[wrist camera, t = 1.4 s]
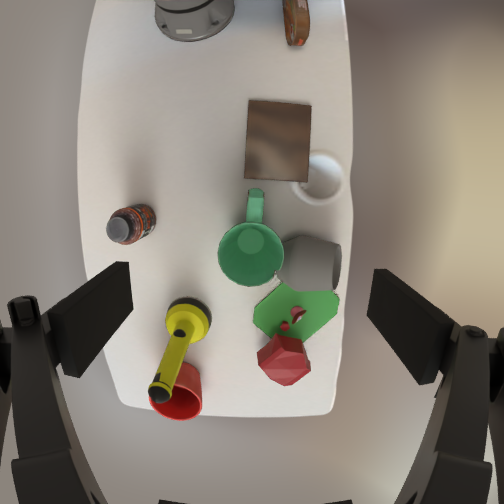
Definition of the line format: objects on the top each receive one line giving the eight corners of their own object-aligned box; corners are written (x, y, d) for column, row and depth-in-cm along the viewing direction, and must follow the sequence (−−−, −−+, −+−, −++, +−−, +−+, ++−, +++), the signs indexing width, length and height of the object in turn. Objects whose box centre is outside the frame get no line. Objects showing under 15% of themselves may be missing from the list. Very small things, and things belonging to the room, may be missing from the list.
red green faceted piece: (228, 330, 58) (225, 355, 50) (304, 262, 55) (314, 279, 46) (279, 371, 61) (283, 398, 52) (351, 311, 58) (366, 333, 49)
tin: (281, -7, 42) (285, -30, 33) (296, -6, 42) (303, -29, 33) (287, 52, 45) (293, 33, 37) (304, 53, 45) (312, 34, 37)
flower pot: (213, 389, 62) (209, 419, 53) (169, 394, 63) (160, 422, 53) (199, 352, 60) (191, 381, 50) (153, 359, 60) (140, 385, 51)
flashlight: (187, 430, 35) (193, 384, 33) (125, 414, 34) (122, 366, 32) (208, 340, 59) (214, 301, 57) (166, 331, 59) (169, 292, 56)
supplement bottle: (163, 224, 53) (142, 236, 42) (138, 241, 54) (114, 256, 43) (146, 197, 52) (121, 202, 41) (122, 214, 53) (94, 224, 42)
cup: (270, 236, 47) (333, 241, 43) (290, 232, 56) (343, 235, 51) (268, 294, 49) (328, 303, 44) (288, 281, 57) (340, 288, 52)
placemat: (248, 101, 48) (248, 100, 47) (310, 106, 48) (311, 105, 47) (244, 178, 51) (244, 178, 51) (306, 182, 51) (307, 182, 51)
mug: (275, 269, 55) (280, 288, 46) (222, 265, 55) (216, 284, 45) (282, 188, 52) (290, 191, 42) (226, 184, 51) (221, 186, 42)
